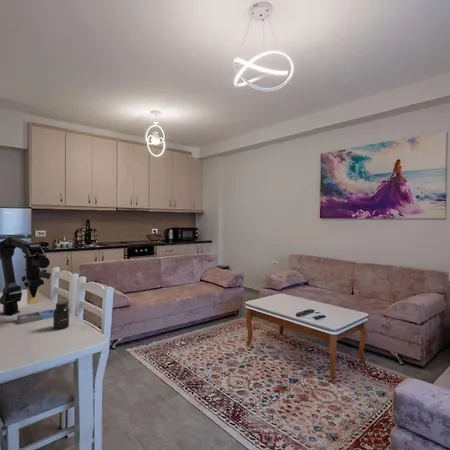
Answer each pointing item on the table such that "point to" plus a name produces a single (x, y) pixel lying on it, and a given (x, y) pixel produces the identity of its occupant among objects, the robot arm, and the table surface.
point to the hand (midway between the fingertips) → (32, 296)
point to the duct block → (35, 316)
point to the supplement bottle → (61, 316)
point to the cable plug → (29, 297)
